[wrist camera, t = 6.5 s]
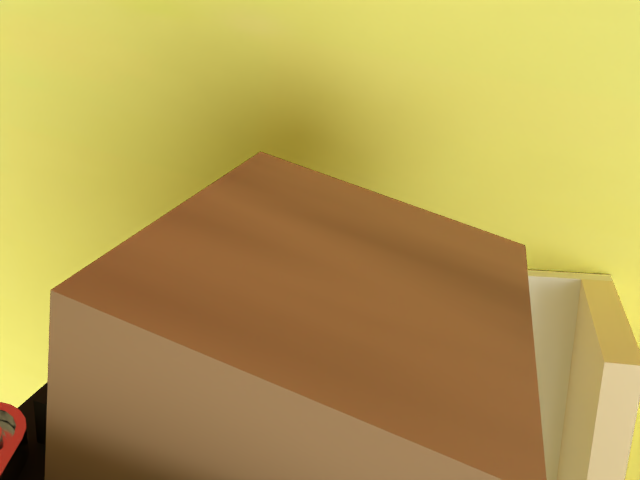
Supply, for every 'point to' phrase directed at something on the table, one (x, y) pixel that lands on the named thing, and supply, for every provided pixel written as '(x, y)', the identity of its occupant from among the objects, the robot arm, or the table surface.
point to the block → (295, 343)
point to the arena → (584, 374)
